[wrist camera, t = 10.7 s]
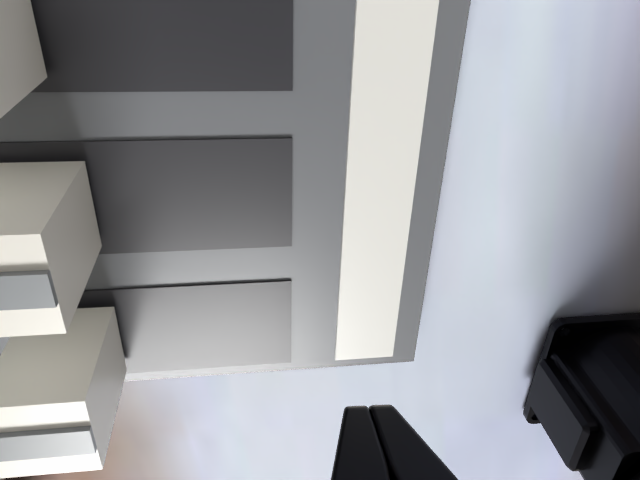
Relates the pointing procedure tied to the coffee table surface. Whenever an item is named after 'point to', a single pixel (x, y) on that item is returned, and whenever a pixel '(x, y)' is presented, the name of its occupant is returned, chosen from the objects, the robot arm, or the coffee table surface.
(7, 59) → the block
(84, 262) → the block
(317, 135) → the breaker panel
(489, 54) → the coffee table surface
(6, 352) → the block
